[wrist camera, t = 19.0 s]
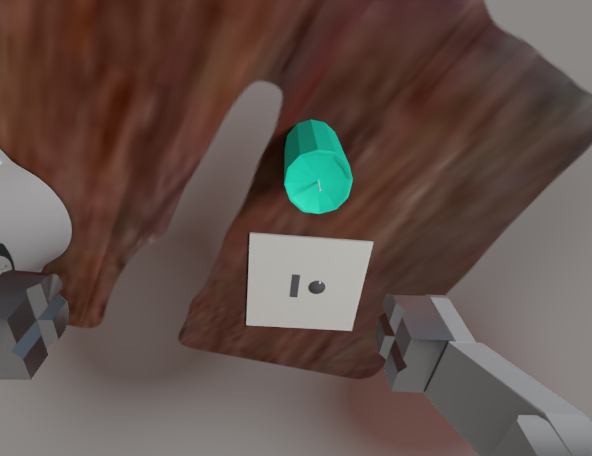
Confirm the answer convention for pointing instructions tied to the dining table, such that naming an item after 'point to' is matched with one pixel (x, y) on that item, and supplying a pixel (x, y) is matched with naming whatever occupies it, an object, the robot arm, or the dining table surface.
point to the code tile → (305, 281)
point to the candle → (316, 168)
